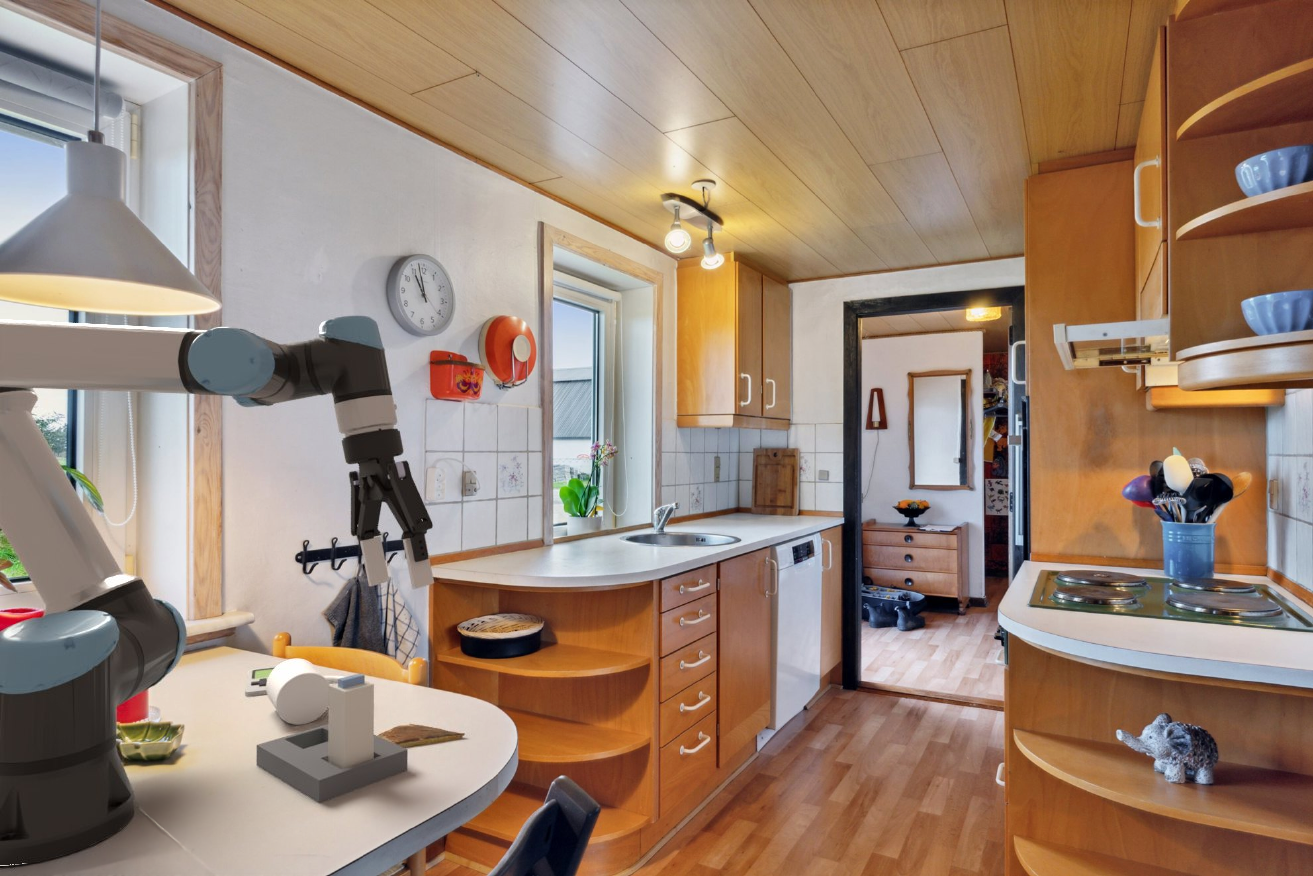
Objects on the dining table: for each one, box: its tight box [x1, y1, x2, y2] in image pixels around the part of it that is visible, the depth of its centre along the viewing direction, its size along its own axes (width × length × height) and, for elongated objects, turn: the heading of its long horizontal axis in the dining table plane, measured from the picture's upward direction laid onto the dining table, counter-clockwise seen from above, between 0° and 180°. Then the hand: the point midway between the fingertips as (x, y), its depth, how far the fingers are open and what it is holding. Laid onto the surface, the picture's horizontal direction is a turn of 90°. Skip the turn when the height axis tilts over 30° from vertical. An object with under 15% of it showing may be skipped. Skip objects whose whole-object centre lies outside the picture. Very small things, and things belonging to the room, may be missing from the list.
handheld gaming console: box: [244, 665, 277, 698], centre depth 140 cm, size 10×2×15 cm
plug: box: [327, 673, 375, 769], centre depth 99 cm, size 4×4×13 cm
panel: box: [256, 723, 408, 804], centre depth 102 cm, size 12×17×3 cm
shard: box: [376, 723, 466, 748], centre depth 111 cm, size 11×8×2 cm
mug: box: [266, 658, 345, 726], centre depth 124 cm, size 12×10×8 cm
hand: (400, 585), depth 104 cm, fingers open, 13 cm apart
